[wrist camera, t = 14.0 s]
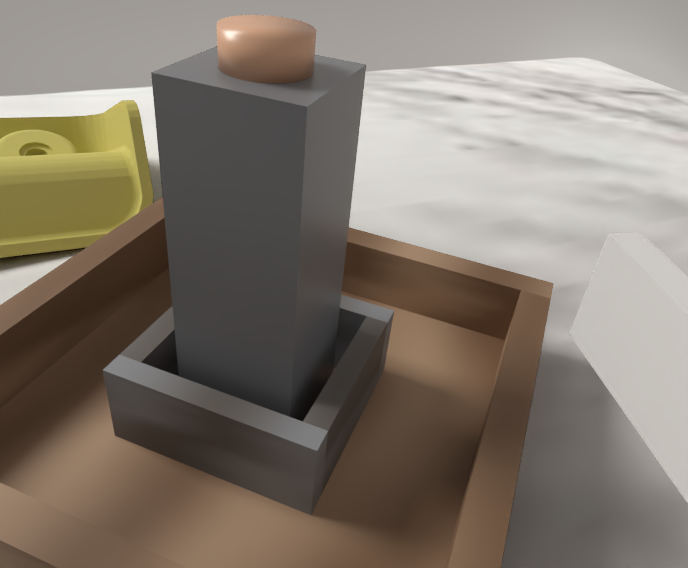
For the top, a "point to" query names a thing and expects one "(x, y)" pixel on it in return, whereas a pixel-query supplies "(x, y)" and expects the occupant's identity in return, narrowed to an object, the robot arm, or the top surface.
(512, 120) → the top surface
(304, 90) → the grey tall block
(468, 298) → the box
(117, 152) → the plastic component
